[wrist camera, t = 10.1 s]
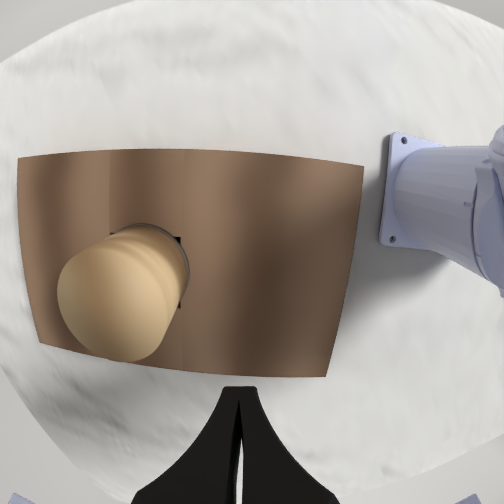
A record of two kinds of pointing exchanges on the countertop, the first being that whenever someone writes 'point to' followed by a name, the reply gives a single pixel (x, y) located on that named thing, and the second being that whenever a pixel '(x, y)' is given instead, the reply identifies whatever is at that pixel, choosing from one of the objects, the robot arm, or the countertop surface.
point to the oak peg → (124, 291)
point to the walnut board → (205, 248)
